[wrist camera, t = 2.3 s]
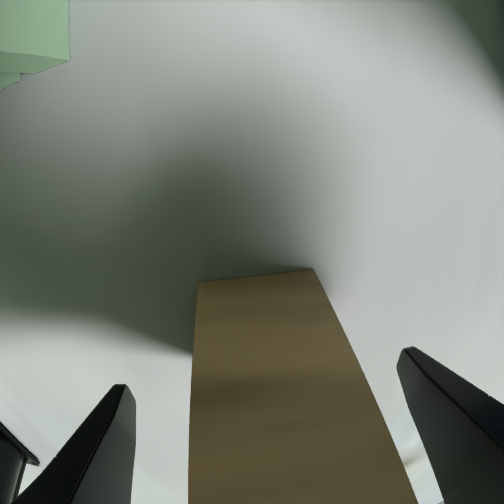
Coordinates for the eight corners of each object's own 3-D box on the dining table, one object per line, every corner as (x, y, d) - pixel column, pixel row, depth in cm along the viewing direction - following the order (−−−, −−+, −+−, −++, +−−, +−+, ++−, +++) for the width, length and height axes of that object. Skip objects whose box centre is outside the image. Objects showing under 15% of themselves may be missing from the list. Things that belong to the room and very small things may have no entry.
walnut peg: (309, 350, 13) (372, 554, 5) (214, 361, 13) (225, 579, 5) (313, 268, 11) (427, 529, 3) (198, 282, 11) (190, 574, 3)
